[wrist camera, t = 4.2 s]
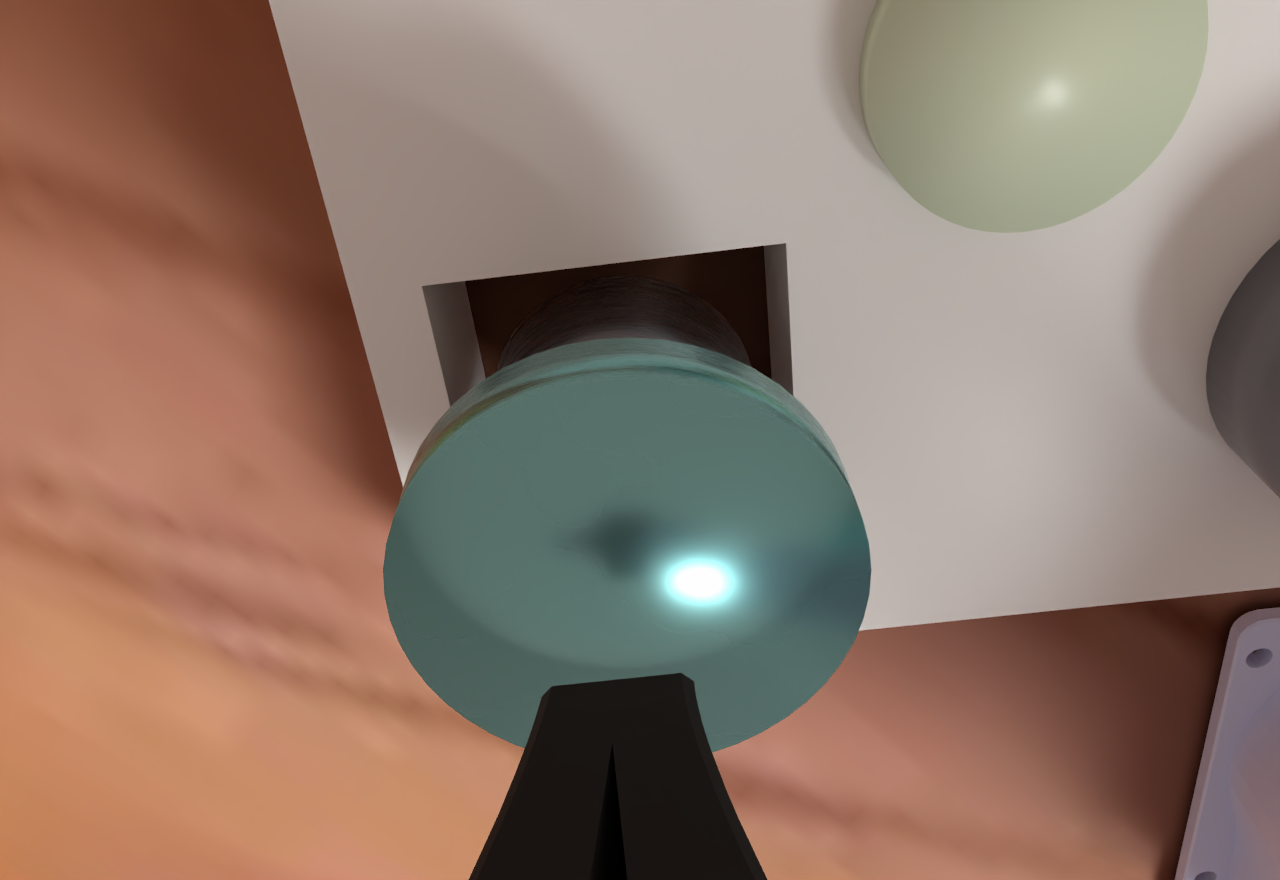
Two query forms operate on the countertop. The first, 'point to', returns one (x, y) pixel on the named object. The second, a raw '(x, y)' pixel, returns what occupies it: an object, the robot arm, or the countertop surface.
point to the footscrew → (627, 522)
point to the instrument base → (867, 248)
